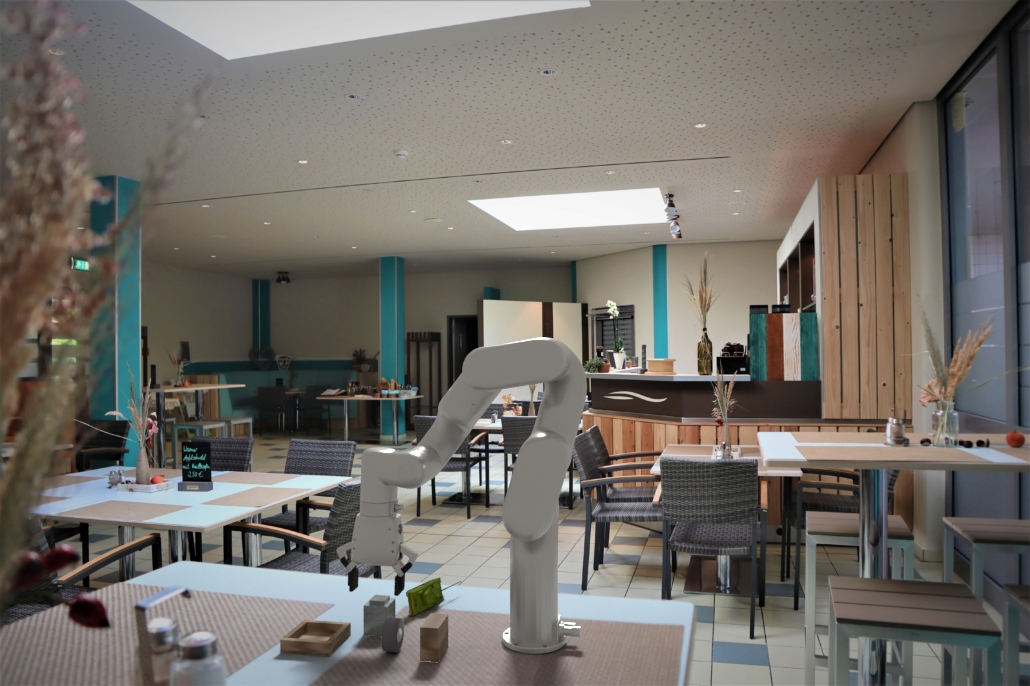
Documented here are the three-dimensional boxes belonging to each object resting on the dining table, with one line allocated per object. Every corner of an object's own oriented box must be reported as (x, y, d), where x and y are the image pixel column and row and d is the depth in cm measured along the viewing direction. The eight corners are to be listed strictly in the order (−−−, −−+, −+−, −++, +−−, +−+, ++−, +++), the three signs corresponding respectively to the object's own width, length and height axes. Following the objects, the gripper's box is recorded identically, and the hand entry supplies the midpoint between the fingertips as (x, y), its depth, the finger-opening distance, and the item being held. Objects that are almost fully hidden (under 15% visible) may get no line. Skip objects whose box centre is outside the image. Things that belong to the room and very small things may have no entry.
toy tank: (392, 589, 153) (428, 587, 148) (444, 566, 169) (477, 564, 164) (397, 622, 152) (433, 621, 147) (448, 596, 168) (482, 594, 163)
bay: (350, 635, 141) (350, 622, 141) (329, 656, 131) (329, 643, 131) (304, 631, 143) (304, 619, 143) (280, 652, 133) (280, 639, 133)
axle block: (448, 647, 135) (448, 614, 135) (438, 663, 128) (438, 628, 128) (429, 646, 136) (429, 613, 136) (418, 661, 129) (418, 627, 129)
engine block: (395, 627, 145) (395, 594, 145) (387, 637, 140) (387, 603, 140) (372, 625, 146) (372, 593, 146) (363, 635, 141) (363, 601, 141)
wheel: (404, 644, 136) (404, 613, 136) (394, 657, 130) (394, 625, 130) (391, 643, 136) (391, 612, 136) (380, 656, 130) (380, 624, 130)
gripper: (424, 507, 146) (421, 589, 145) (346, 501, 148) (343, 582, 148) (413, 515, 138) (410, 602, 138) (331, 509, 141) (328, 594, 141)
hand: (375, 591), depth 143 cm, fingers open, 9 cm apart
